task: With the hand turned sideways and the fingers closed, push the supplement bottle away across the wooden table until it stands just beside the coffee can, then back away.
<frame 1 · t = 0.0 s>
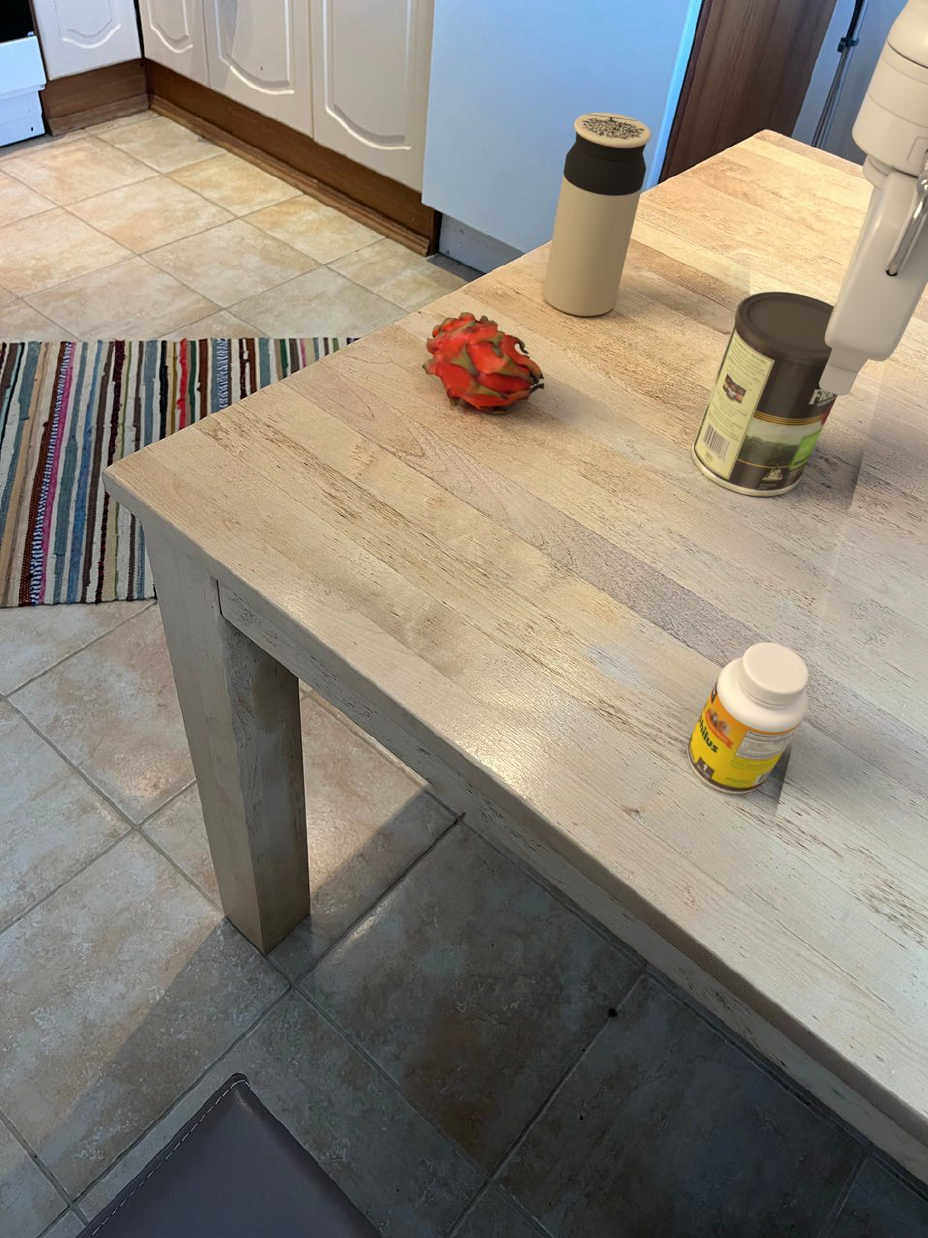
hand: (844, 350, 60), 21 cm above the table, tool pointing down, fingers open, 8 cm apart
dragon fruit: (479, 399, 90), on the table
supplement bottle: (724, 764, 64), on the table
travel mug: (578, 301, 104), on the table
coffee can: (744, 462, 87), on the table
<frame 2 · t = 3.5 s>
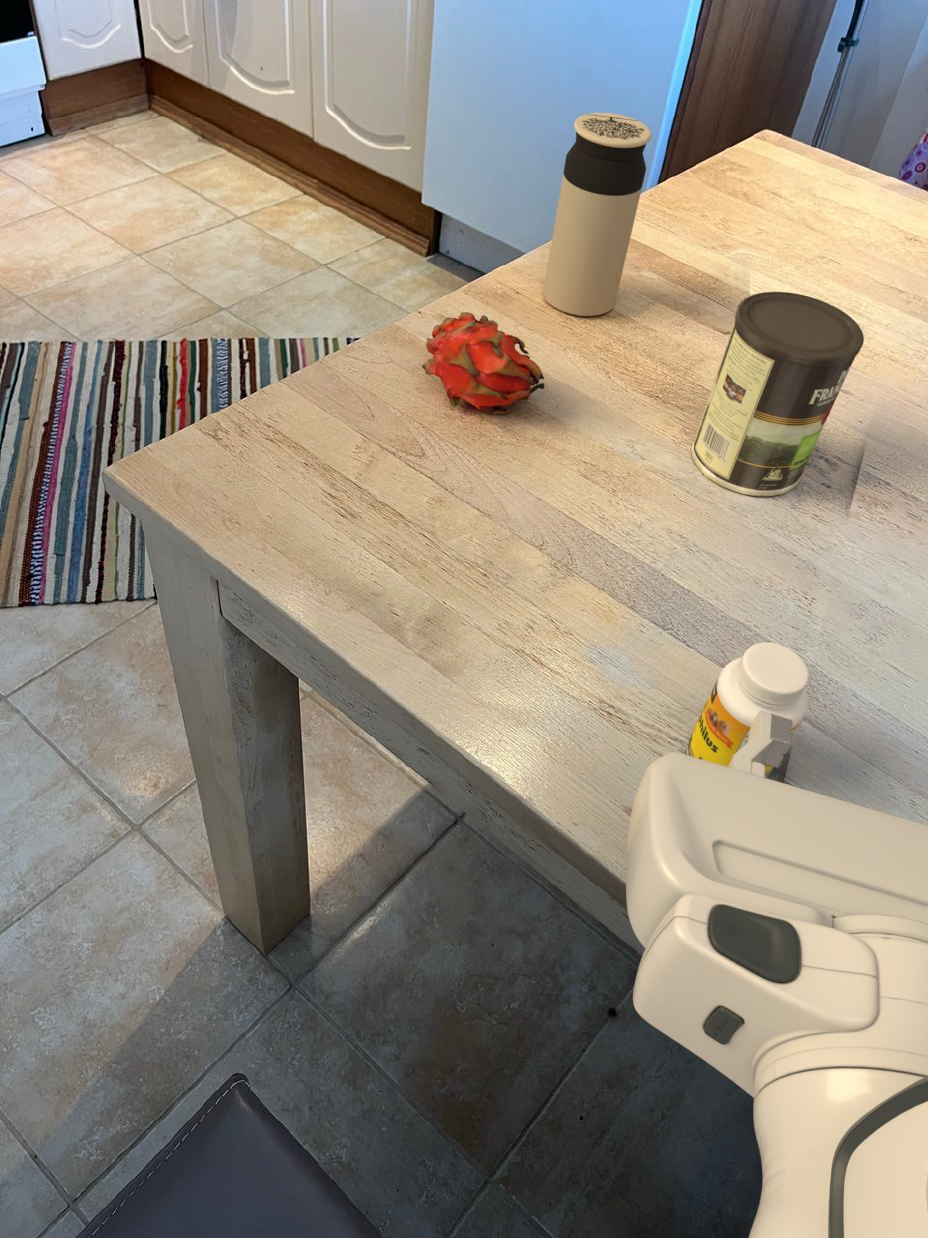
hand: (873, 752, 43), 18 cm above the table, tool horizontal, fingers open, 8 cm apart
nothing on the table moved.
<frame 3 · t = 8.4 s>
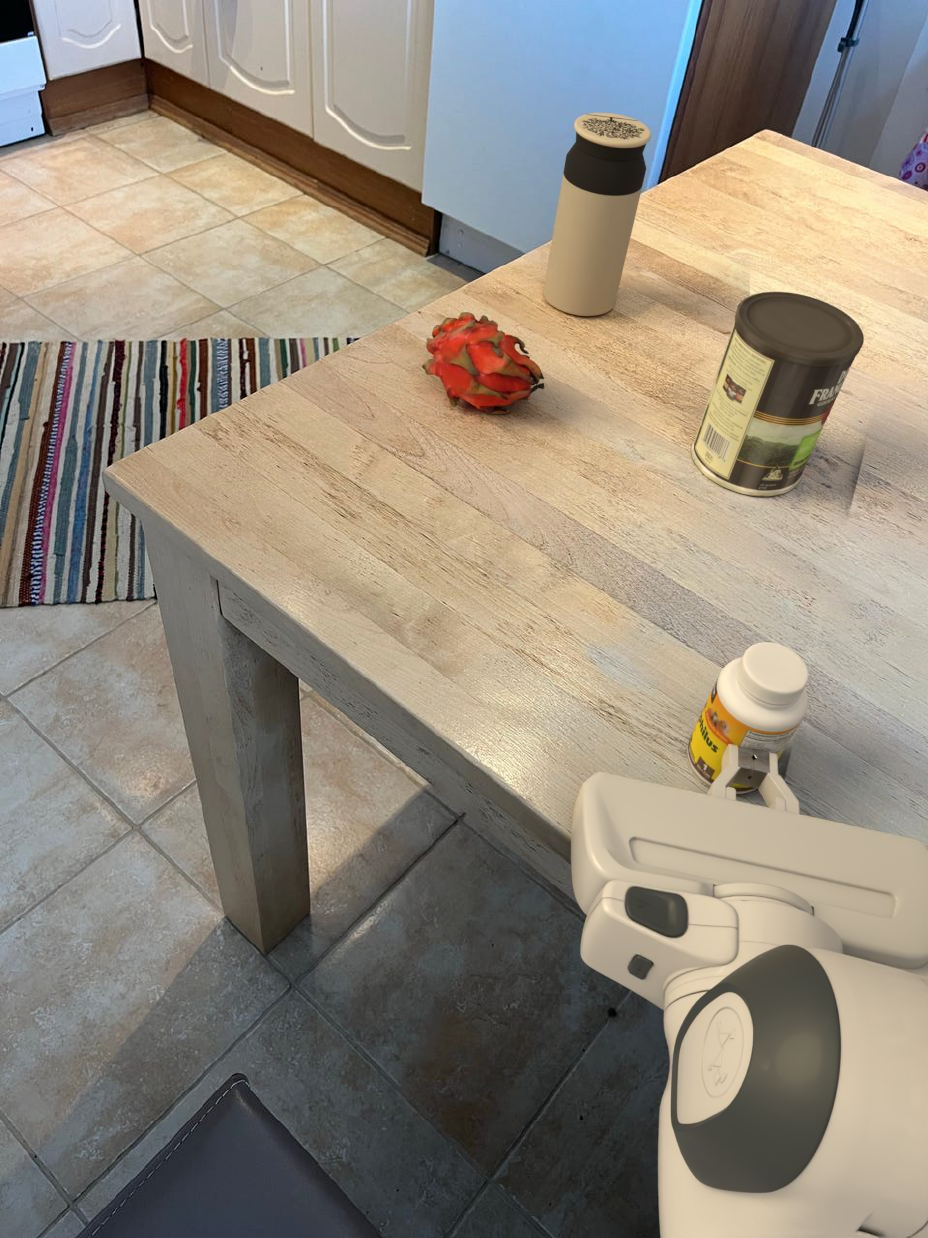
hand: (749, 753, 58), 5 cm above the table, tool horizontal, fingers closed, pressing on supplement bottle
supplement bottle: (724, 764, 64), on the table, touching gripper
everything else where it was.
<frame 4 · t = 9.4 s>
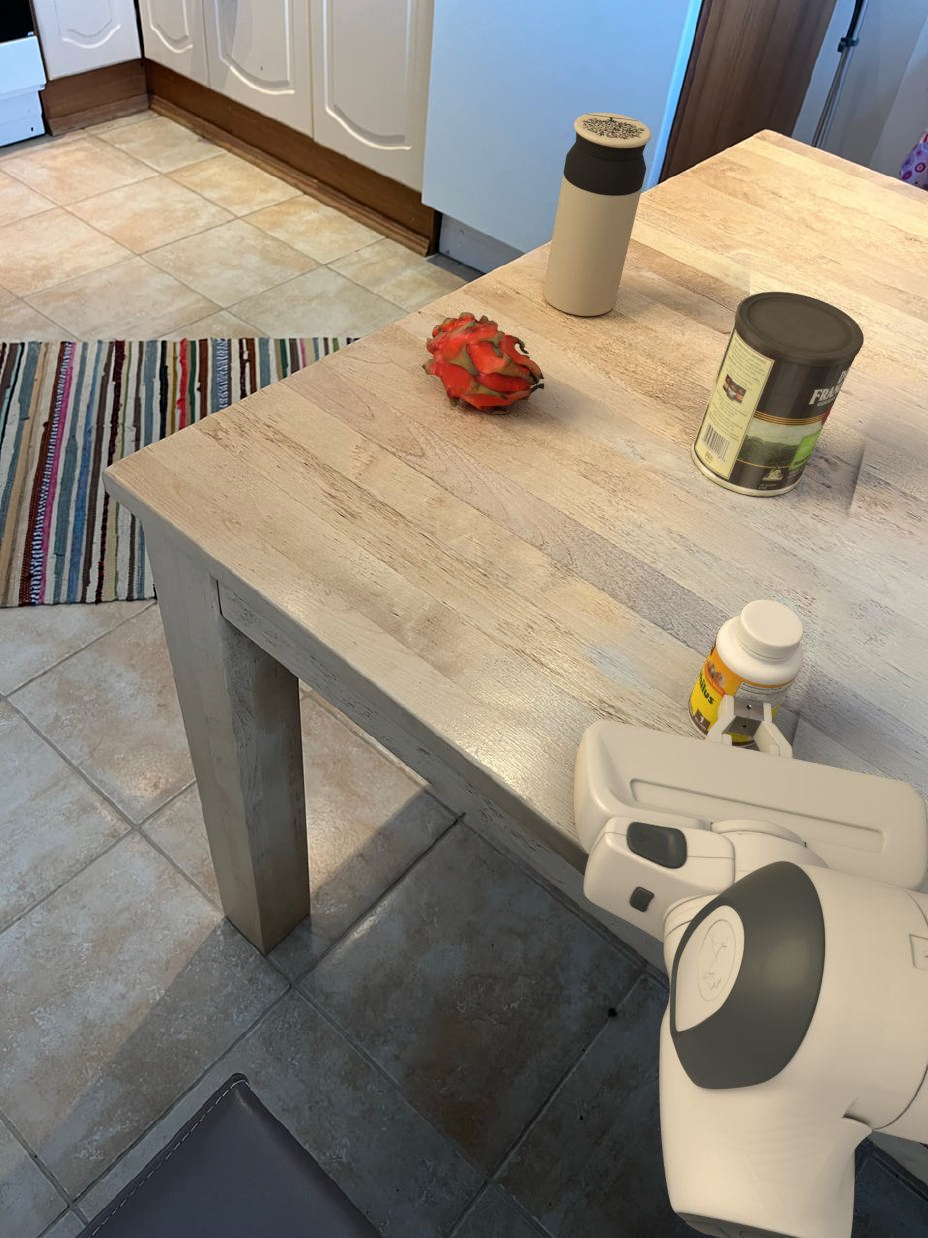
hand: (744, 704, 60), 5 cm above the table, tool horizontal, fingers closed, pressing on supplement bottle
supplement bottle: (723, 721, 66), on the table, touching gripper
everything else where it was.
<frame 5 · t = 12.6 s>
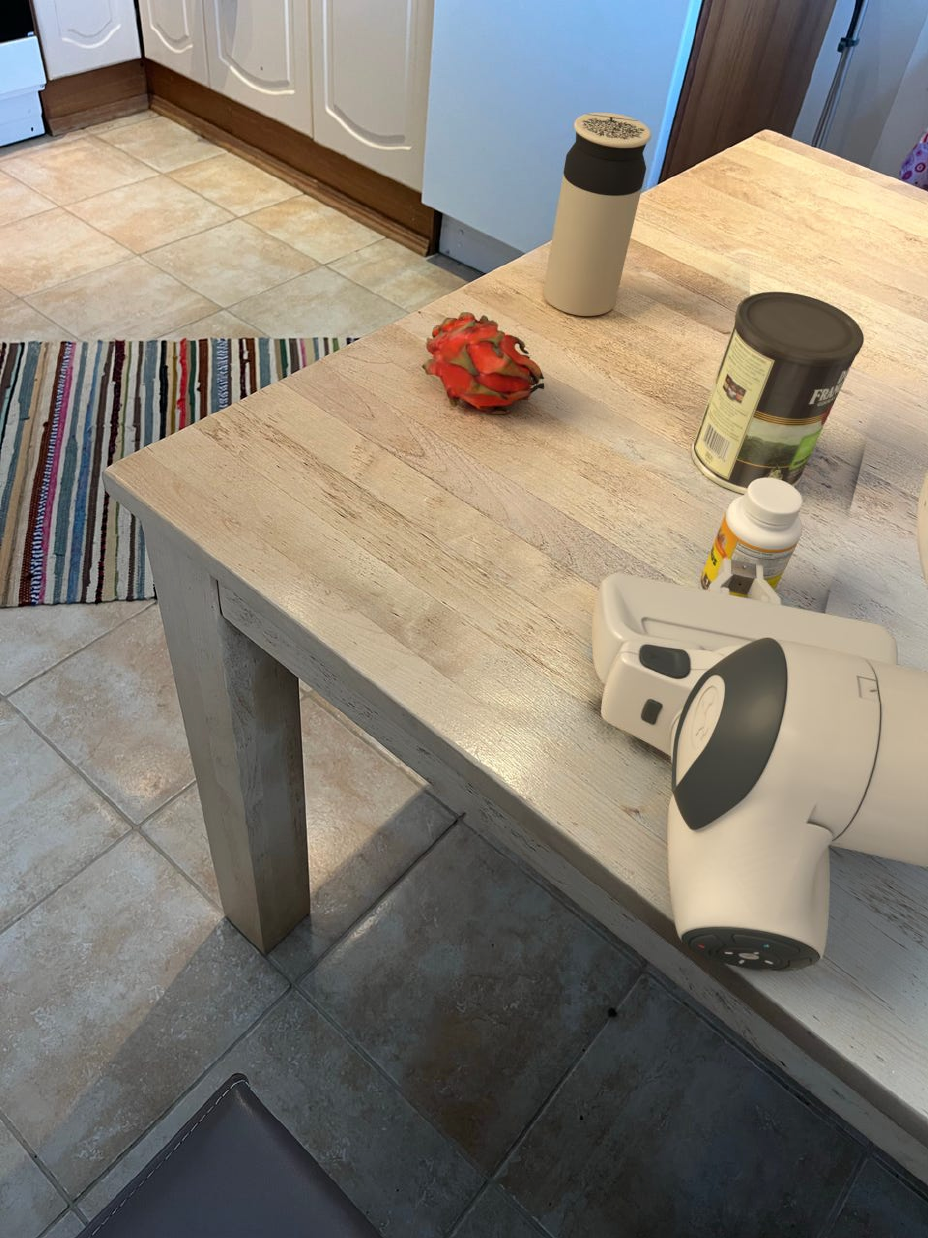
hand: (739, 567, 69), 5 cm above the table, tool horizontal, fingers closed
supplement bottle: (731, 595, 75), on the table, touching gripper
everything else where it was.
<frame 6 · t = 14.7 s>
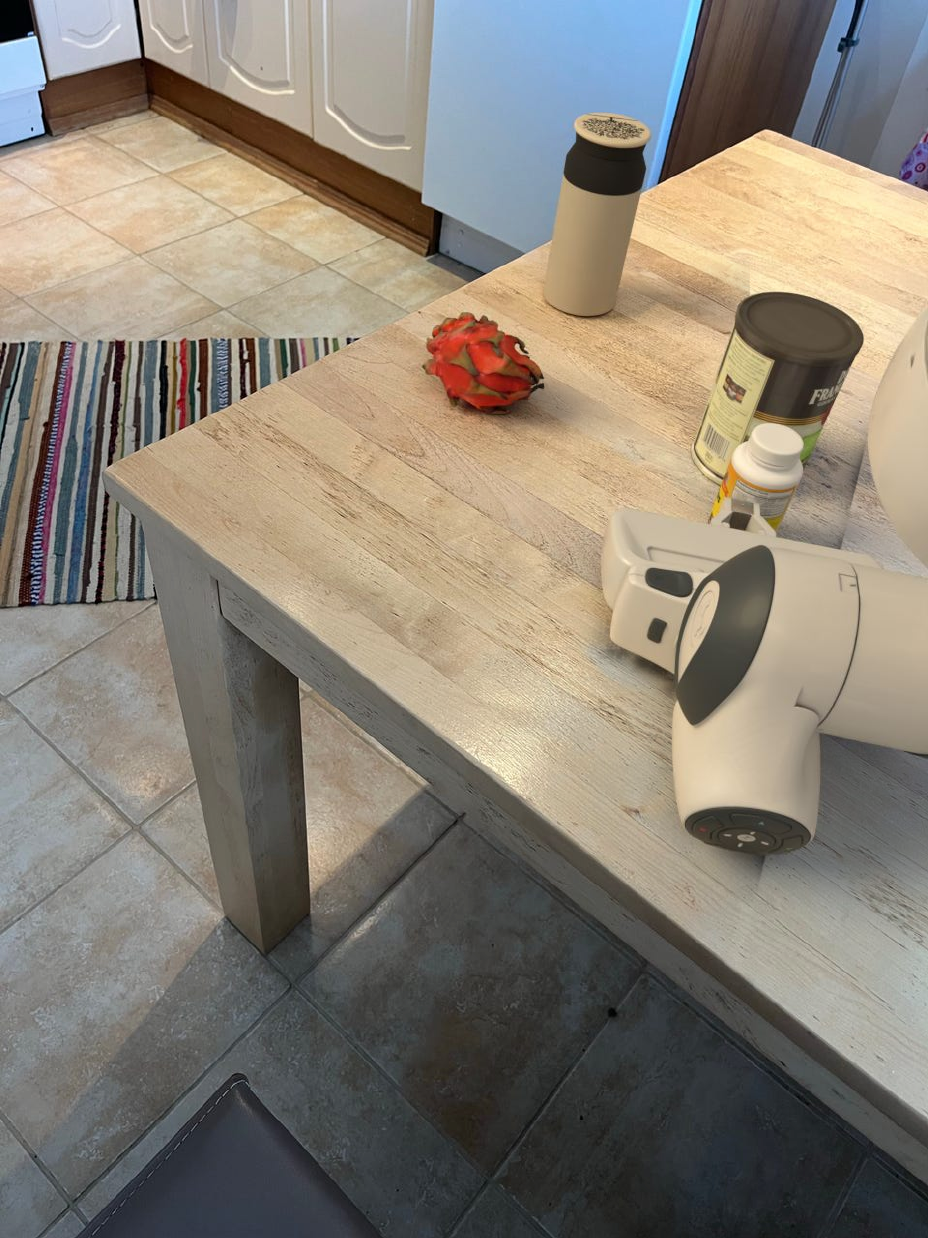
hand: (738, 506, 74), 5 cm above the table, tool horizontal, fingers closed
supplement bottle: (736, 538, 80), on the table, touching gripper
everything else where it was.
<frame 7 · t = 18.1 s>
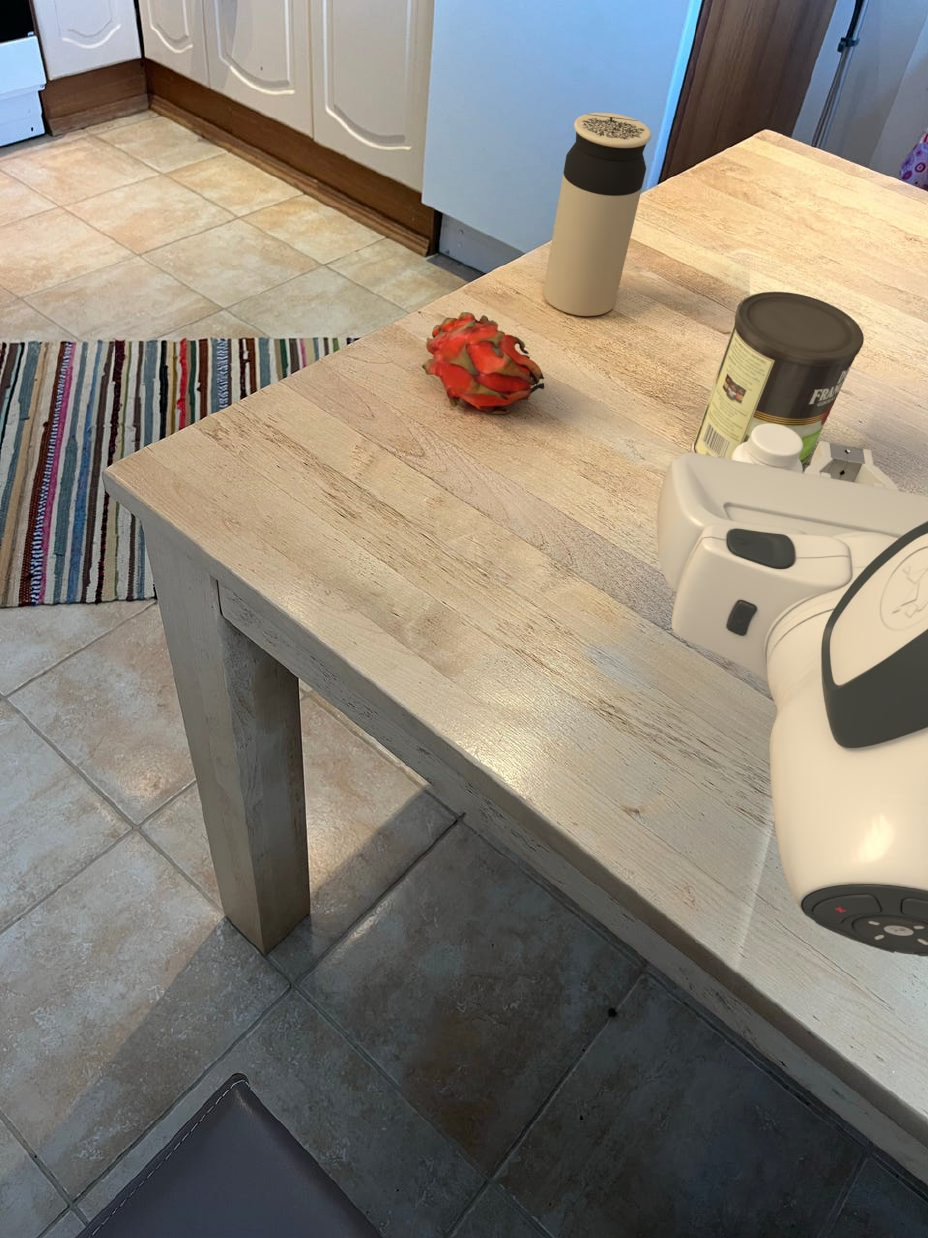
hand: (840, 454, 55), 20 cm above the table, tool horizontal, fingers closed
supplement bottle: (736, 538, 80), on the table
everything else where it was.
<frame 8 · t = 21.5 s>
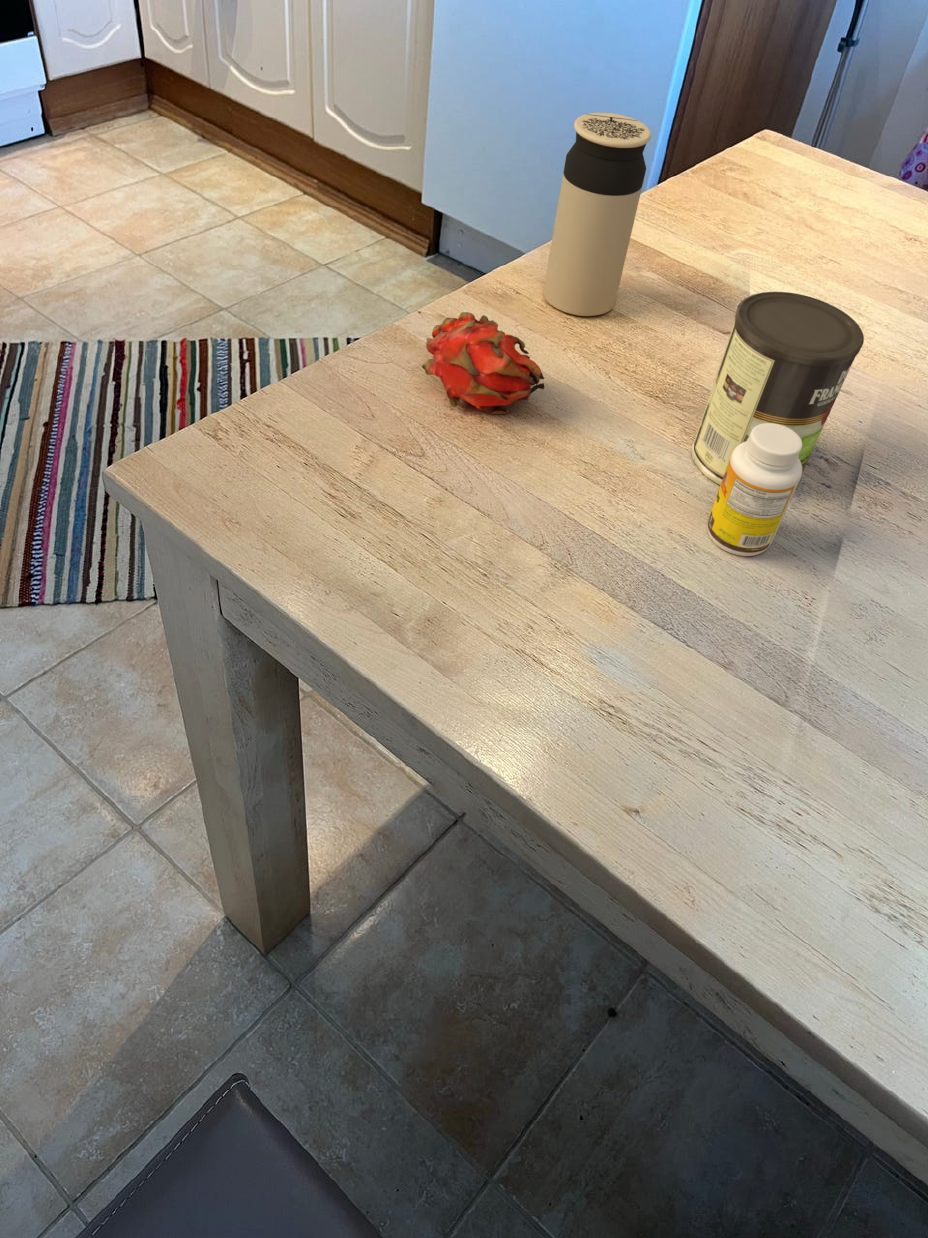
nothing on the table moved.
at the end: supplement bottle inside the target area on the table beside the coffee can (1.2 cm from its centre), on the table; supplement bottle tilted 1°; coffee can moved 0.2 cm from its start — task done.
